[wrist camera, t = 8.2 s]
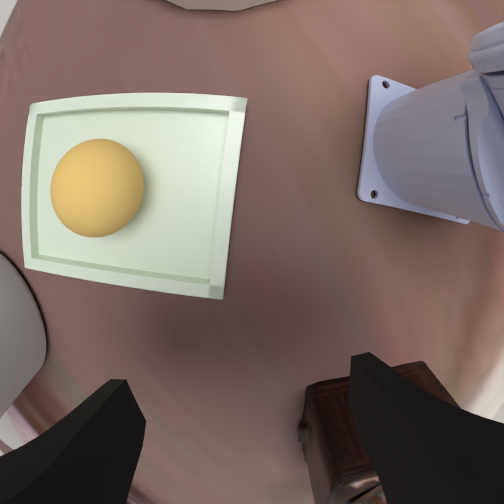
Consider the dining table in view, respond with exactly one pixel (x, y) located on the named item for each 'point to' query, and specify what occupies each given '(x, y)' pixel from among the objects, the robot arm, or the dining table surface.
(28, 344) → the cylinder vase
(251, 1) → the bowl
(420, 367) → the brown manual coffee grinder
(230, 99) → the tray
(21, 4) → the dining table surface
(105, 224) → the ball
